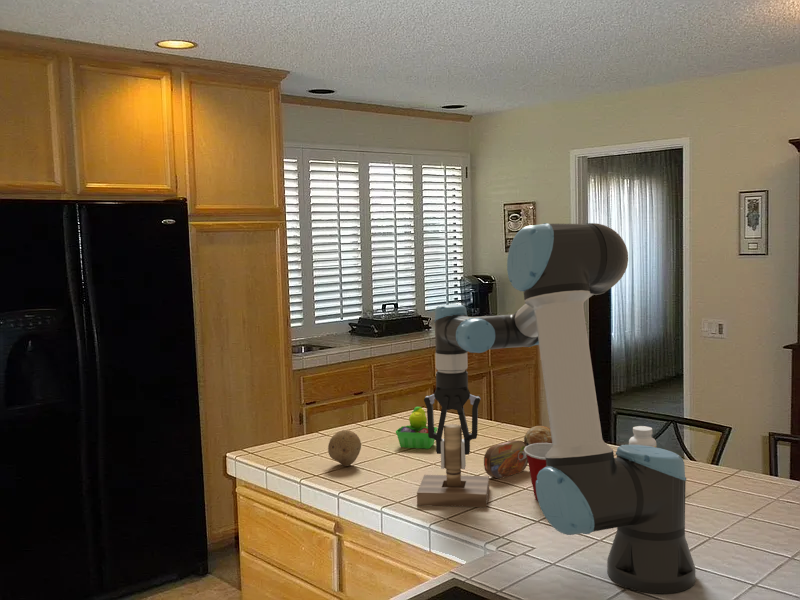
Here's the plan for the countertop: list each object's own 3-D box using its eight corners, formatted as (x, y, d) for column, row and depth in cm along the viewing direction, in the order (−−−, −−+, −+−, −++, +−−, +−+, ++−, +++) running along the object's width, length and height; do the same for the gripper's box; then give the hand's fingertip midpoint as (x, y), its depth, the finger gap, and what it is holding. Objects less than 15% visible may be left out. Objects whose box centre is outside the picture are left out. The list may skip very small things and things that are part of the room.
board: (486, 507, 180) (486, 494, 180) (417, 505, 183) (416, 492, 183) (489, 488, 194) (488, 476, 194) (424, 486, 197) (424, 474, 196)
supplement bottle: (626, 480, 198) (626, 429, 197) (631, 473, 203) (631, 424, 202) (653, 483, 194) (653, 432, 194) (658, 476, 200) (658, 426, 199)
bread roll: (522, 456, 235) (512, 433, 233) (548, 437, 239) (538, 415, 237) (542, 464, 226) (531, 441, 224) (568, 445, 230) (558, 422, 228)
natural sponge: (346, 472, 210) (345, 436, 209) (321, 467, 215) (320, 431, 214) (368, 464, 217) (367, 429, 216) (343, 459, 222) (342, 425, 222)
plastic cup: (536, 508, 178) (536, 456, 177) (517, 494, 189) (516, 445, 188) (579, 503, 181) (579, 452, 180) (558, 489, 192) (557, 441, 191)
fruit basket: (395, 448, 234) (394, 410, 233) (403, 441, 242) (402, 404, 241) (432, 450, 230) (431, 412, 229) (439, 442, 239) (438, 406, 238)
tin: (490, 481, 199) (490, 449, 199) (481, 479, 202) (481, 446, 201) (530, 469, 209) (530, 438, 208) (521, 467, 211) (521, 436, 211)
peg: (461, 487, 186) (460, 428, 185) (444, 486, 187) (443, 428, 186) (463, 481, 190) (462, 424, 189) (445, 481, 191) (444, 424, 190)
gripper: (489, 367, 189) (490, 463, 190) (417, 367, 191) (419, 462, 193) (487, 373, 181) (489, 472, 183) (413, 372, 184) (415, 471, 186)
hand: (453, 467), depth 188 cm, fingers closed on peg, 4 cm apart
